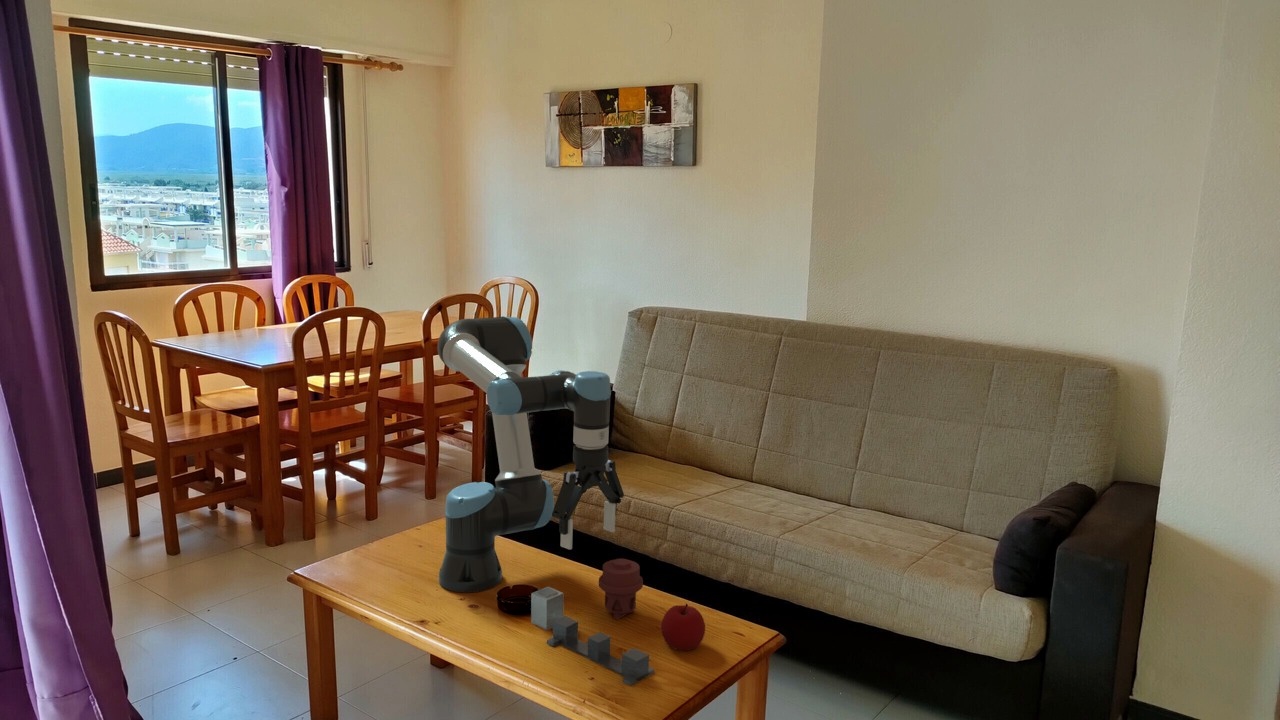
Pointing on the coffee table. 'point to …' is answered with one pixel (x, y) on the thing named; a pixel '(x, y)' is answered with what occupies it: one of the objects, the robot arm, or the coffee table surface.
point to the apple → (683, 627)
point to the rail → (601, 651)
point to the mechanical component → (620, 586)
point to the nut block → (546, 607)
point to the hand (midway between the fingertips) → (588, 538)
